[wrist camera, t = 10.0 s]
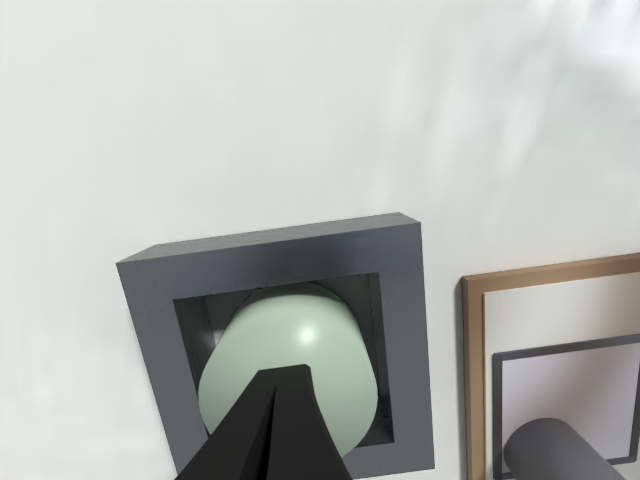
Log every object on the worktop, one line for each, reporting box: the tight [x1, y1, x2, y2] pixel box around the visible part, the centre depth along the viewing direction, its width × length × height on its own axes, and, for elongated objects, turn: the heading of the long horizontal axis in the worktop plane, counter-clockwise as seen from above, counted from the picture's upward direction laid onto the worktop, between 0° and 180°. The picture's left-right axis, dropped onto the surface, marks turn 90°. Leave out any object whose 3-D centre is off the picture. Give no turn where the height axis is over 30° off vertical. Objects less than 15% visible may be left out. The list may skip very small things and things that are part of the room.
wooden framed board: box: [462, 253, 640, 480], centre depth 11 cm, size 9×10×1 cm
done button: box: [198, 282, 378, 458], centre depth 9 cm, size 5×5×3 cm
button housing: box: [116, 212, 435, 480], centre depth 10 cm, size 8×8×2 cm
